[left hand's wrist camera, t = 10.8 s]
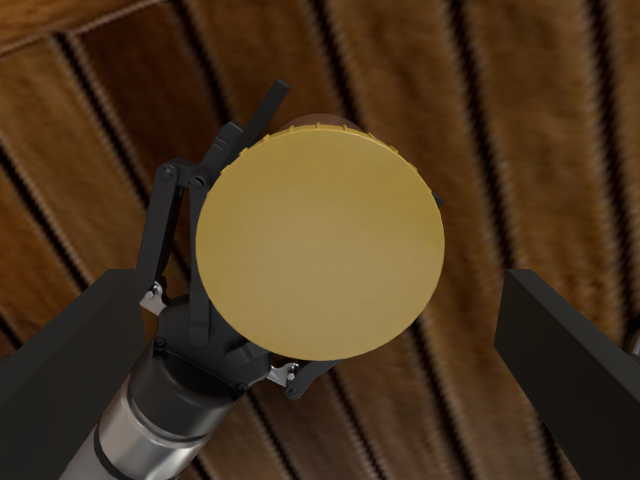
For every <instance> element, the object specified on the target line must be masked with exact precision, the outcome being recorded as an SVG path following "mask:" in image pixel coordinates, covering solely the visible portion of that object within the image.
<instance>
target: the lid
mask: <svg viewBox="0 0 640 480" xmlns="http://www.w3.org/2000/svg"><path fill="white" fill-rule="evenodd" d="M239 155H240V156H239V157H238V158H237V159H236V160H235V161H234V162H233V163H232V164H231V165H228V166H227V167H226V168H224V169H223V170H222V171H221V172H220V173H221V176H220V177H219V178H218V179H217V180H216V182H215V184H214V185H213V187H212V188H211V190H210V191H209V192H208V193H207V197H206V200H205V202H204V204H203V207H202V209H201V213H200V216H199V220H198V224H197V232H196V259H197V265H198V270H199V274H200V277H201V280H202V283H203V286H204V288H205V290H206V292H207V294H208V296H209V298H210V300H211V301H212V303H213V305H214V306H215V308H216V309H217V311H218V312H219V313H220V314H221V316H222V317H223V318H224V319H225V320H226V322H228V323H229V324H230V325H231V326H232V327H233V328H234V329H235V330H236V331H237V332H239V333H240V334H241V335H243V336H244V337H245V338H247V339H248V340H250V341H251V342H253V343H255V344H257V345H258V346H260V347H262V348H264V349H267V350H269V351H272V352H274V353H277V354H280V355H283V356H287V357H291V358H296V359H302V360H314V361H325V360H337V359H344V358H349V357H353V356H357V355H360V354H363V353H366V352H368V351H371V350H373V349H376V348H378V347H380V346H381V345H383V344H385V343H387V342H389V341H390V340H392V339H393V338H395V337H396V336H397V335H399V334H400V333H401V332H403V331H404V330H405V329H406V328H407V327H408V326H409V325H410V324H412V322H413V321H414V320H415V319H416V318H417V317H418V316H419V314H420V313H421V312H422V311H423V309H424V308H425V306H426V305H427V303H428V302H429V300H430V298H431V296H432V294H433V292H434V290H435V288H436V286H437V283H438V280H439V277H440V274H441V270H442V265H443V259H444V244H445V242H444V231H443V225H442V220H441V215H440V212H439V210H438V207H437V205H436V202H435V200H434V197H433V195H432V194H431V192H432V191H431V190H430V189H429V188H428V187H427V185H426V183H425V182H424V181H423V179H422V178H421V177H420V176H419V174H418V173H417V172H416V171H417V169H416V168H415V167H414V166H413V165H412V164H411V163H410V162H409V163H407V162H406V161H405V160H404V159H403V158H402V157H401V156H400V155H399V154H398V151H397V150H396V149H395V148H394V147H392V146H390V147H389V146H387V145H386V144H384V143H383V142H381V141H379V140H377V139H376V138H374V136H373V135H372V134H371V133H368V134H365V133H362V132H360V131H357V130H354V129H350V128H347V127H346V125H343V127H341V126H333V125H320V123H317V125H305V126H300V127H295V128H294V127H293V126H291V127H290V128H289V129H286V130H283V131H280V132H277V133H275V134H272V135H270V136H269V134H267V135H266V136H265V137H264V138H263V139H262V140H260V141H259V142H257V143H256V144H254V145H253V146H251V147H250V148H248V149H247V147H246V148H245V149H244V150H243V151H242V152H240V153H239Z"/></svg>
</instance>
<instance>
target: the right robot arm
mask: <svg viewBox="0 0 640 480" xmlns="http://www.w3.org/2000/svg"><path fill="white" fill-rule="evenodd" d="M290 89H291V87H290V86H289V85H288V84H286V83H285V82H284V81H282V80H281V79H276V80H275V82H274V83H273V85H272V87H271V88H270V90H269V91H268V93H267V95H266V96H265V98H264V99H263V101H262V103H261V104H260V106H259V107H258V109H257V111H256V112H255V114H254V115H253V117H252V119H251V120H250V122H249V123H248V125H247V127H244V126H243V125H241V124H240V123H239V122H237V121H236V120H232V121H230V122H229V123H227V124H226V125H224V126H223V127H222V128H221V130H220V131H219V133H218V135H217V136H216V138H215V140H214V141H213V143H212V145H211V146H210V148H209V149H208V151H207V153H206V154H205V156H204V158H203V159H202V161H201V162H200V163H194V162H190V161H186V160H185V159H184V158H182V157H175V158H173V159H171V160H169V161H167V162H165V163H163V164H161V165H160V166H159V167H157V170H156V173H155V178H154V183H153V188H152V193H151V198H150V203H149V208H148V213H147V217H146V222H145V227H144V232H143V237H142V242H141V247H140V252H139V257H138V262H137V267H136V272H135V279H136V285H137V291H138V297H139V303H140V305H141V306H143V307H144V308H146V309H148V310H149V311H151V312H152V313H154V314H156V315H157V316H158V329H157V332H156V333H155V335H154V336H153V338H152V339H151V341H150V342H149V344H148V345H147V347H146V348H145V350H144V351H143V353H142V354H141V356H140V357H139V359H138V360H137V362H136V363H135V365H134V367H133V369H132V371H131V372H130V373H129V375H128V376H127V378H126V379H125V381H124V382H123V384H122V385H121V387H120V388H119V390H118V391H117V393H116V394H115V396H114V397H113V398H112V400H111V401H110V403H109V404H108V406H107V407H106V409H105V410H104V413H103V415H102V416H101V418H100V419H99V421H98V423H97V425H96V426H95V427H94V429H93V430H92V432H91V433H90V434H89V436H88V437H87V439H86V440H85V441H84V443H83V444H82V446H81V447H80V448H79V450H78V451H77V453H76V454H75V456H74V457H73V459H72V460H71V461H70V463H69V464H68V466H67V467H66V469H65V470H64V472H63V473H62V475H61V476H60V478H59V479H58V480H177V479H178V477H179V476H180V475H181V473H182V472H183V471H184V470H185V469H186V467H187V466H188V465H189V463H190V462H191V461H192V460H193V459H194V457H195V456H196V455H197V454H198V452H199V451H200V450H201V449H202V447H203V446H204V445H205V444H206V442H207V441H208V440H209V439H210V437H211V436H212V435H213V434H214V432H215V430H216V429H217V428H218V427H219V426H220V425H221V423H222V422H223V421H224V419H225V418H226V417H227V416H228V414H229V413H230V412H231V411H232V409H233V408H234V407H235V406H236V404H237V403H238V402H239V401H240V399H241V398H242V397H243V395H244V394H245V393H246V391H247V390H248V389H249V387H250V386H251V385H253V384H254V383H256V382H258V381H260V380H263V379H264V378H268V379H270V380H272V381H274V382H276V383H278V384H280V385H283V386H285V395H286V397H288V398H289V399H298V398H299V397H301V395H302V394H303V393H304V391H305V390H306V389H307V387H308V386H309V385H310V383H311V382H312V381H313V379H315V378H316V377H318V376H319V375H321V374H322V373H324V372H325V371H327V370H328V369H330V368H331V367H333V366H334V365H336V364H338V363H339V362H341V361H342V360H344V359H345V358H344V359H337V360H325V361H314V360H302V359H296V358H291V357H286V358H285V359H283V360H279V361H278V360H274V359H273V352H272V351H269V350H267V349H264V348H262V347H260V346H258V345H257V344H255V343H253V342H251V341H250V340H248V339H247V338H245V337H244V336H243V335H241V334H240V333H239V332H237V331H236V330H235V329H234V328H233V327H232V326H231V325H230V324H229V323H228V322H226V320H225V319H224V318H223V317H222V316H221V314H220V313H219V312H218V311H217V309H216V308H215V306H214V305H213V303H212V301H211V300H210V298H209V296H208V294H207V292H206V290H205V288H204V286H203V283H202V280H201V277H200V274H199V270H198V265H197V259H196V232H197V224H198V220H199V216H200V213H201V209H202V207H203V204H204V202H205V200H206V197H207V193H208V192H209V191H210V190H211V188H212V187H213V185H214V184H215V182H216V180H217V179H218V178H219V177H220V176H221V173H220V172H221V171H222V170H223V169H224V168H226V167H227V166H228V165H231V164H232V163H233V162H234V161H235V160H236V159H237V158H238V157H239V156H240V155H239V153H240V152H242V151H243V150H244V149H245V148H246V147H247V149H248V148H250V147H251V146H253V145H254V144H255V143H256V142H257V140H258V139H259V137H260V136H261V134H262V132H263V131H264V129H265V128H266V126H267V125H268V123H269V121H270V120H271V118H272V117H273V115H274V114H275V112H276V111H277V109H278V107H279V106H280V104H281V103H282V101H283V100H284V98H285V96H286V95H287V93H288V92H289V90H290ZM185 187H188V188H189V200H190V243H191V283H190V287H189V294H185V295H182V296H179V297H176V298H173V299H169V298H168V297H167V295H166V288H167V282H166V278H165V277H164V276H161V275H162V273H163V272H164V270H165V267H166V265H167V262H168V259H169V254H170V250H171V246H172V241H173V237H174V233H175V228H176V224H177V220H178V215H179V211H180V206H181V202H182V198H183V193H184V189H185ZM430 190H431V189H430ZM431 191H432V190H431ZM431 194H432V195H433V197H434V200H435V202H436V205H437V207H438V209H439V207H440V206H441V205H442V204H443V203H444V201H443V200H441V199H440V198H439V197H438V196H437V195H436V194H435V193H434V192H433V191H432V192H431Z"/></svg>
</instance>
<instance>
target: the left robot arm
mask: <svg viewBox="0 0 640 480" xmlns="http://www.w3.org/2000/svg"><path fill="white" fill-rule="evenodd" d="M145 347H146V340H145V333H144V327H143V321H142V315H141V309H140V303H139V297H138V291H137V285H136V279H135V273H134V269H109V270H108V271H106V272H105V273H104V274H103V275H102V276H101V277H100V278H99V279H97V280H96V281H95V282H94V283H93V284H92V285H91V286H90V287H88V288H87V289H86V290H85V291H84V292H83V293H82V294H81V295H79V296H78V297H77V298H76V299H75V300H74V301H73V302H72V303H70V304H69V305H68V306H67V307H66V308H65V309H64V310H63V311H61V312H60V313H59V314H58V315H57V316H56V317H55V318H53V319H52V320H51V321H50V322H49V323H48V324H47V325H46V326H44V327H43V328H42V329H41V330H40V331H39V332H38V333H37V334H35V335H34V336H33V337H32V338H31V339H30V340H29V341H28V342H26V343H25V344H24V345H23V346H22V347H21V348H20V349H19V350H17V351H16V352H15V353H14V354H13V355H5V356H3V357H1V358H0V480H58V479H59V478H60V476H61V475H62V473H63V472H64V470H65V469H66V467H67V466H68V464H69V463H70V461H71V460H72V458H73V457H74V455H75V453H76V452H77V450H78V449H79V447H80V446H81V444H82V443H83V441H84V440H85V438H86V437H87V435H88V434H89V432H90V431H91V429H92V428H93V426H94V425H95V423H96V422H97V420H98V419H99V417H100V415H101V414H102V412H103V411H104V409H105V408H106V406H107V405H108V403H109V402H110V400H111V399H112V397H113V396H114V394H115V393H116V391H117V390H118V388H119V387H120V385H121V384H122V382H123V381H124V379H125V378H126V376H127V374H128V373H129V371H130V370H131V368H132V367H133V365H134V364H135V362H136V361H137V359H138V358H139V356H140V355H141V353H142V352H143V350H144V349H145ZM494 347H495V349H496V350H497V352H498V353H499V355H500V356H501V358H502V359H503V361H504V362H505V364H506V365H507V367H508V368H509V370H510V371H511V373H512V374H513V376H514V378H515V379H516V381H517V382H518V384H519V385H520V387H521V388H522V390H523V391H524V393H525V394H526V396H527V397H528V399H529V400H530V402H531V403H532V405H533V406H534V408H535V409H536V411H537V412H538V414H539V415H540V417H541V419H542V420H543V422H544V423H545V425H546V426H547V428H548V429H549V431H550V432H551V434H552V435H553V437H554V438H555V440H556V441H557V443H558V444H559V446H560V447H561V449H562V450H563V452H564V453H565V455H566V457H567V458H568V460H569V461H570V463H571V464H572V466H573V467H574V469H575V470H576V472H577V473H578V475H579V476H580V478H581V479H582V480H640V316H639V317H638V319H637V320H636V322H635V323H634V325H633V327H632V328H631V330H630V332H629V334H628V337H627V339H626V342H625V345H624V349H623V350H621V349H620V348H619V347H618V346H617V345H616V344H615V343H614V342H612V341H611V340H610V339H609V338H608V337H607V336H606V335H605V334H603V333H602V332H601V331H600V330H599V329H598V328H597V327H596V326H594V325H593V324H592V323H591V322H590V321H589V320H588V319H587V318H585V317H584V316H583V315H582V314H581V313H580V312H579V311H577V310H576V309H575V308H574V307H573V306H572V305H571V304H570V303H568V302H567V301H566V300H565V299H564V298H563V297H562V296H561V295H559V294H558V293H557V292H556V291H555V290H554V289H553V288H552V287H550V286H549V285H548V284H547V283H546V282H545V281H544V280H543V279H541V278H540V277H539V276H538V275H537V274H536V273H535V272H534V271H532V270H531V269H506V273H505V279H504V285H503V291H502V297H501V303H500V309H499V315H498V321H497V327H496V333H495V340H494Z"/></svg>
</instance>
